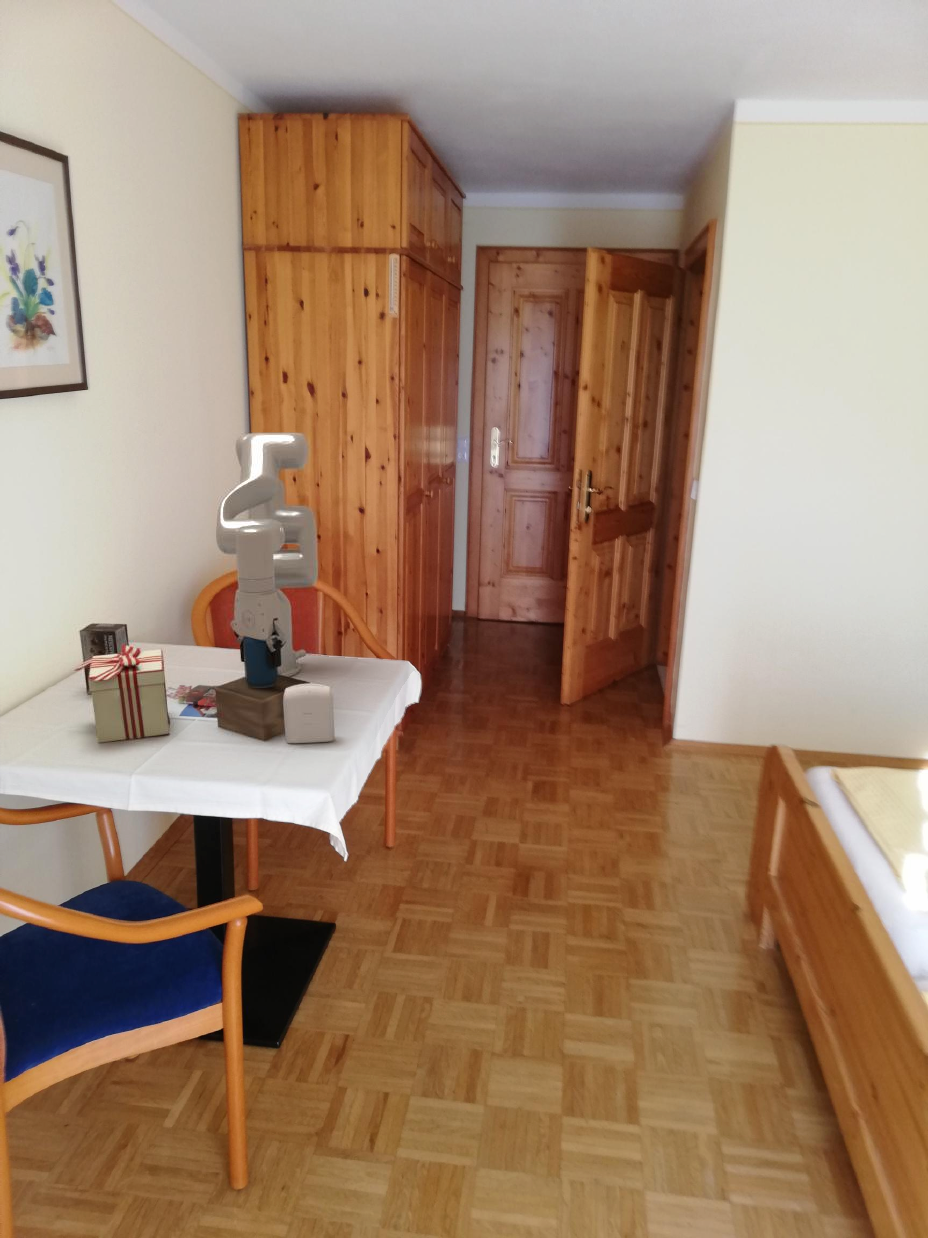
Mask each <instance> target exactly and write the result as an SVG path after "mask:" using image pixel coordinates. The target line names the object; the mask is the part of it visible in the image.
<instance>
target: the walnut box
mask: <svg viewBox="0 0 928 1238" xmlns="http://www.w3.org/2000/svg"><path fill="white" fill-rule="evenodd" d="M299 684H311V681H308V680H303V679H299V678H295V677H293V676H289V677H288V676H284V675H280V674H278V679H277V681H276V683H275V685H273V686H271V687H267V688H253V687H250V686H249V685H248V683H247V682H246V680H245V676H243V677H240V678H237V679H234V680H231V681H228V682H225V683H224V684H223V683H222V684H221V685H220V684H219V685H217V686H215V687H213V691H215V704H216V706H215V707H216V716H217V717H216V718H217V727H218V728H221V729H224V730H227V731H230V732H234V733H237V734H240V735H242V736H247V737H250V738H253V739H255V740H260V741H263V742H265V741H267V740H269V739H272V738H274V737H277V736H279V735H281V734H283V733H285V723H284V707H283V697H284V693H285V689H286V688H288V687H291V686H295V685H299Z"/></svg>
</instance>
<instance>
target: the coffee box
mask: <svg viewBox="0 0 928 1238" xmlns="http://www.w3.org/2000/svg"><path fill="white" fill-rule="evenodd" d="M128 634H129V633H128V624H126V623H90V624H88V625H86V626H85V627H83V628H82V629H80V630H79V639H80V646H81V654H82V664H83V663H84V662H86V661H87V660H89V659H92V656H100V655H110V654H118V653H122V646H123V645H127V646H130V643H129V636H128ZM83 670H84V671H83V672H84V680H85V686H86V687H85V689H86V695H91V696H92V692H90V690H89V682H88V677H89V670H90V665H88V666H86V667H84V668H83Z"/></svg>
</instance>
